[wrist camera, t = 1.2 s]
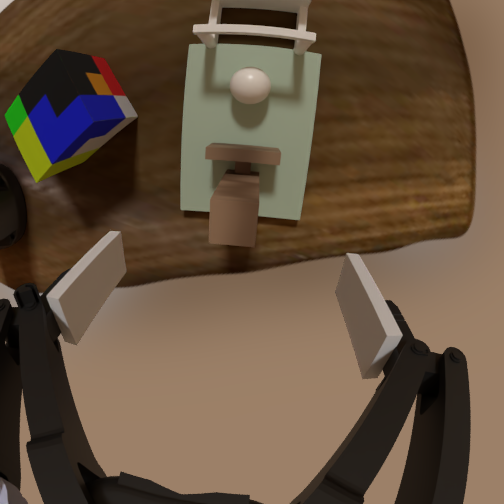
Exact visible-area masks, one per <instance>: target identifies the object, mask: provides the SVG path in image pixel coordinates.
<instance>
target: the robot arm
mask: <svg viewBox="0 0 504 504" xmlns="http://www.w3.org/2000/svg"><path fill="white" fill-rule="evenodd" d="M25 227H26V207H25V201H24V197H23V193H22V190H21V188H20V185H19V183H18V181H17V179H16V177H15V176H14V174H13V173H12V171H11V170H10V169H9V168H8V167H6V166H5V165H3V164H0V249H4V248H7V247H10V246H12V245H13V244H14V243H16V242H17V241H18V240H20V238H21V237H22V236H23V234H24V231H25ZM125 273H126V265H125V259H124V252H123V245H122V237H121V232H117V231H110V232H108V233H107V234H106V235H105V236H104V237H103V238H102V239H101V240H100V241H99V242H98V243H97V244H96V245H95V246H94V247H93V248H92V249H91V250H90V251H88V252H87V253H86V254H85V255H84V256H83V257H82V258H81V259H80V260H79V261H78V262H77V263H76V265H75V266H74V267H73V268H72V269H68V270H66V271H65V272H63V273H62V274H61V275H60V276H59V277H58V278H57V280H55V281H54V282H53V284H51V285H50V286H49V287H48V289H47V290H46V291H45V292H44V293H43V294H42V295H41V296H40V295H39V292H38V290H37V287H36V285H35V284H33V283H27V284H24V285H21V286H20V287H18V288H17V289H16V290H15V292H14V297H15V300H16V302H17V305H18V307H12V306H11V304H10V301H9V300H8V299H0V504H28V502H27V501H26V499H25V498H23V497H22V494H21V493H20V483H21V482H20V481H21V468H20V444H19V443H20V442H19V433H20V408H21V395H22V389H23V396H24V403H25V409H26V415H27V421H28V425H29V430H30V435H31V441H29V442H27V445H26V447H27V453H28V457H29V461H30V464H31V468H32V471H33V474H34V477H35V480H36V483H37V486H38V489H39V492H40V494H41V497H42V500H43V502H44V504H262V503H259V502H257V501H254V500H250V499H249V498H250V495H240V494H239V495H238V494H227V493H217V492H216V493H204V494H184V495H183V494H179V493H176V492H174V491H172V490H170V489H167V488H165V487H163V486H161V485H159V484H157V483H154V482H153V481H151V480H148V479H144V478H140V477H136V476H133V475H130V474H127V473H124V472H121V473H120V476H110V477H107V476H106V474H105V473H104V471H103V469H102V468H101V467H100V465H99V464H98V463H97V461H96V459H95V457H94V455H93V452H92V450H91V448H90V445H89V443H88V440H87V438H86V435H85V432H84V430H83V427H82V424H81V421H80V419H79V416H78V412H77V410H76V407H75V403H74V400H73V397H72V393H71V389H70V386H69V382H68V378H67V374H66V370H65V366H64V361H63V356H62V351H61V346H60V342H59V340H58V336H59V335H60V333H61V334H62V336H63V338H64V340H65V342H68V343H71V344H75V345H77V344H78V343H79V341H80V339H81V338H82V336H83V335H84V333H85V331H86V330H87V328H88V327H89V325H90V323H91V322H92V320H93V319H94V317H95V316H96V314H97V313H98V311H99V310H100V308H101V307H102V305H103V304H104V303H105V301H106V299H107V298H108V297H109V295H110V294H111V292H112V291H113V290H114V288H115V287H116V285H117V284H118V282H119V281H120V280H121V278H122V277H123V276H124V274H125ZM335 293H336V296H337V299H338V302H339V305H340V308H341V311H342V314H343V317H344V320H345V323H346V326H347V329H348V332H349V335H350V338H351V342H352V345H353V348H354V351H355V355H356V358H357V361H358V365H359V368H360V372H361V375H362V378H363V379H369V378H378V376H379V374H380V373H381V371H382V370H383V372H384V375H385V377H384V379H383V380H382V382H381V383H380V384H379V386H378V387H377V389H376V392H375V394H374V396H373V397H372V399H371V401H370V402H369V404H368V405H367V407H366V409H365V410H364V412H363V413H362V415H361V416H360V418H359V420H358V421H357V423H356V424H355V426H354V427H353V428H352V430H351V432H350V433H349V434H348V436H347V437H346V438H345V440H344V441H343V443H342V444H341V445H340V447H339V448H338V449H337V451H336V452H335V453H334V455H333V456H332V457H331V459H330V460H329V461H328V462H327V463H326V465H325V466H324V467H323V468H322V470H321V471H320V472H319V473H318V474H317V476H316V477H315V478H314V479H313V480H312V481H311V482H310V484H309V485H308V486H307V487H306V488H305V489H304V490H303V492H301V493H300V494H299V495H298V496H297V497H296V498H295V499H294V500H293V501H292V502H291V503H290V504H363V502H364V497H363V496H364V494H365V492H366V491H367V489H368V488H369V486H370V485H371V483H372V481H373V480H374V478H375V477H376V475H377V473H378V472H379V470H380V468H381V467H382V465H383V463H384V461H385V460H386V458H387V456H388V454H389V452H390V451H391V449H392V447H393V445H394V443H395V441H396V439H397V437H398V435H399V433H400V431H401V429H402V427H403V425H404V423H405V421H406V419H407V416H408V414H409V412H410V410H411V407H412V405H413V402H414V400H415V398H416V395H417V400H416V410H415V417H414V423H413V429H412V435H411V442H410V446H409V451H408V456H407V460H406V465H405V469H404V473H403V477H402V480H401V484H400V488H399V491H398V494H397V498H396V501H395V504H463V500H464V494H465V489H466V482H467V474H468V465H469V452H470V394H469V380H468V369H467V361H466V358H465V355H464V354H463V353H462V352H461V351H460V350H459V349H457V348H454V347H449V348H447V349H446V350H445V351H444V353H443V354H438V353H434V352H430V349H429V347H428V346H427V345H426V344H425V343H424V342H422V341H420V340H417V339H415V338H414V336H413V334H412V332H411V331H410V329H409V327H408V325H407V323H406V321H404V317H403V316H402V315H401V312H400V310H399V309H398V307H397V306H396V305H395V304H394V303H393V302H392V301H390V300H384V298H383V296H382V294H381V293H380V291H379V289H378V287H377V286H376V284H375V282H374V280H373V278H372V277H371V275H370V273H369V271H368V269H367V268H366V266H365V264H364V263H363V261H362V259H361V258H360V256H359V254H350V253H346V257H345V261H344V264H343V268H342V271H341V275H340V279H339V282H338V285H337V288H336V292H335ZM5 341H6V344H5Z"/></svg>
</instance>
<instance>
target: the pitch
mask: <svg viewBox="0 0 504 504" xmlns="http://www.w3.org/2000/svg"><path fill="white" fill-rule="evenodd" d="M310 2H311V0H212V4H211V10H210V17H209V24H199V25H194V26H193V33H194V34H196V35H197V36H198V37H199V38H200V39H201V41H202V42H203V43H204V44H189V53H188V62H187V72H186V83H185V95H184V109H183V126H182V148H181V210H192V211H205V212H210V199H211V197H212V195H213V193H214V191H215V190H216V188H217V186H218V184H219V182H220V181H221V179H222V177H223V175H224V174H225V172H226V170H227V169H231V170H235V161H224V160H208V159H205V151H206V146H208V145H210V144H211V143H227V144H241V145H253V146H263V147H273V148H279V150H280V152H281V160H280V165H271V164H261V163H251V171H255V172H259V212H258V216H263V217H273V218H283V219H293V220H300V215H301V209H302V203H303V197H304V191H305V184H306V177H307V171H308V164H309V157H310V150H311V142H312V135H313V127H314V119H315V111H316V102H317V93H318V84H319V75H320V64H321V54H317V53H311V52H305V51H306V50H307V49H308V48H309V46H310V45H311V44H312V43H314V42H315V41H316V33H312V32H306V23H307V11H308V6H309V4H310ZM222 8H252V9H266V10H276V11H284V12H292V13H297V23H296V30H294V29H287V28H279V27H269V26H258V25H240V24H220V21H221V13H222ZM219 34H238V35H256V36H268V37H277V38H285V39H293V40H295V44H294V49H285V48H277V47H268V46H256V45H240V44H218V36H219ZM244 67H256V68H259V69H261V70H263V71H264V72H265V73H266V74H267V75H268V77H269V79H270V82H271V90H270V93H269V94H268V96H267V97H266V98H265V99H264V100H263V101H261V102H259V103H256V104H244V103H241V102H239V101H238V100H236V99H235V98H234V97H233V95H232V93H231V91H230V80H231V78H232V76H233V75H234V73H235V72H237V71H238V70H239V69H241V68H244Z"/></svg>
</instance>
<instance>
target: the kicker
mask: <svg viewBox="0 0 504 504" xmlns="http://www.w3.org/2000/svg"><path fill="white" fill-rule="evenodd" d="M205 159H208V160H224V161H235V170H231V169H227V170H226V172H225V174H224V175H223V177H222V179H221V181H220V182H219V184H218V186H217V188H216V190H215V191H214V193H213V195H212V197H211V199H210V218H209V243H212V244H223V245H235V246H246V247H255V240H256V231H257V221H258V212H259V172H255V171H251V163H261V164H271V165H280V160H281V152H280V150H279V148H273V147H263V146H253V145H241V144H227V143H211V144H210V145H208V146H206V151H205Z"/></svg>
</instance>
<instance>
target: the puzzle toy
mask: <svg viewBox="0 0 504 504" xmlns="http://www.w3.org/2000/svg"><path fill="white" fill-rule="evenodd" d="M137 117H138V116H137V114H136V112H135V110H134V109H133V107H132V105H131V104H130V102H129V100H128V99H127V97H126V95H125V93H124V92H123V90H122V88H121V87H120V85H119V83H118V81H117V80H116V78H115V76H114V74H113V73H112V71H111V69H110V67H109V66H108V64H107V62H106V60H105V59H104V58H100V57H95V56H91V55H86V54H82V53H76V52H71V51H65V50H59V49H56V50H55V51H54V52H53V53H52V54H51V55H50V57H49V58H48V59H47V60H46V61H45V62H44V63H43V65H42V66H41V67H40V68H39V69H38V70H37V72H36V73H35V74H34V75H33V77H32V78H31V79H30V80H29V82H28V83H27V84H26V85H25V87H24V88H23V89H22V91H21V92H20V93H19V95H18V96H17V98H16V99H15V101H14V102H13V103H12V105H11V106H10V108H9V109H8V111H7V112H6V114H5V118H6V120H7V123H8V125H9V127H10V130H11V132H12V134H13V137H14V139H15V141H16V143H17V146H18V148H19V150H20V152H21V154H22V156H23V158H24V160H25V162H26V164H27V166H28V168H29V170H30V172H31V174H32V176H33V177H34V179H35V181H36V183H38V182H40V181H42V180H44V179H46V178H48V177H50V176H53V175H55V174H57V173H59V172H62V171H64V170H66V169H68V168H71V167H73V166H76V165H78V164H81V163H83V162H85V161H86V160H87V159H88V158H89V157H90V156H91V155H92V154H93V153H94V152H96V151H97V150H98V149H99V148H100V147H101V146H102V145H104V144H105V143H106V142H107V141H108V140H109V139H111V138H112V137H113V136H114V135H115V134H117V133H118V132H119V131H120V130H122V129H123V128H124V127H125V126H127V125H128V124H129V123H131V122H132V121H133V120H134V119H136V118H137Z"/></svg>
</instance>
